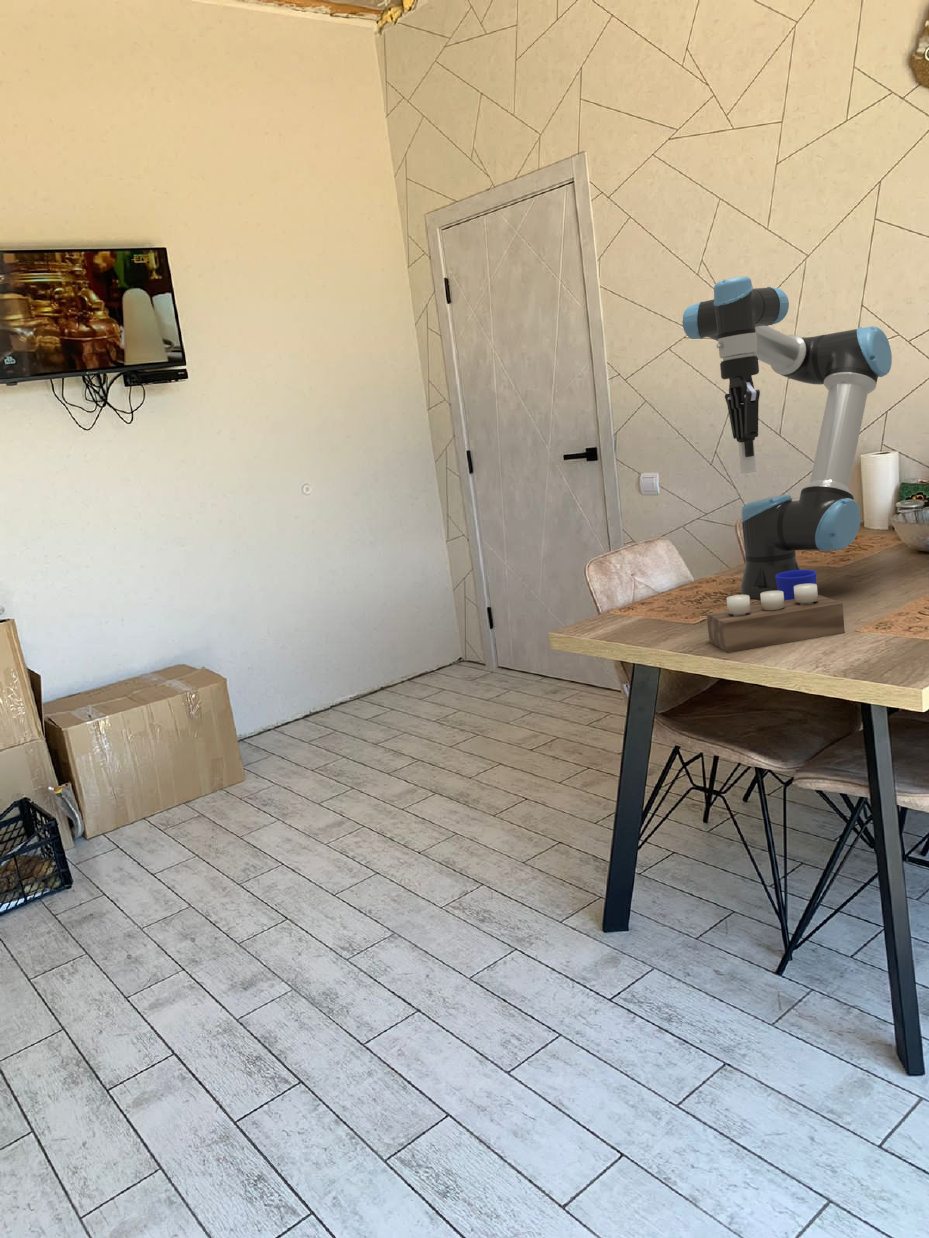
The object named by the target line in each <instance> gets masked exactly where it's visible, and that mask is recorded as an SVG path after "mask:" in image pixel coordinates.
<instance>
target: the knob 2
mask: <svg viewBox="0 0 929 1238" xmlns="http://www.w3.org/2000/svg"><path fill="white" fill-rule="evenodd" d="M760 596H761V599H760V605H761V607H762V609H763V610H767V611H774V610H780V609H782V608H784V607H785V605H784V593H783V591H766V592H762V593H761V594H760Z"/></svg>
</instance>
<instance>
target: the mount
mask: <svg viewBox="0 0 929 1238" xmlns="http://www.w3.org/2000/svg"><path fill="white" fill-rule="evenodd" d="M843 604H844V603H843V602H841V601H838V600H836V599H832V598H829V597H826V596H824V595H820V594H818V600H817V601H815V602H813V604H809V605H803V606H802V605H800V603H797V602H795V599H791V600H785V601H784V605H785V607H784V608H782V609H780V610H774V611H767V610H763V609H762V607H761V604H757V605H750V608H751V611H750V612H749V613H746V615H744V616H739V617H733V614H729V613H728V609H727V610H722V611H721V610H720V611H715V612H710V613H706V620H707V622H706V624H707V629H708V630H707V631H708V641H709V643H710V644H712V645H713V646H716V647H717V648H719V649H720V650H721V651H724V652H725V653H735V652H738V651H739V652H740V651H745V650H746V651H747V650H750V649H756V648H758V649H759V648H761V647H762V648H763V647H768V646H774V645H780V644H781V645H782V644H786V643H791V642H792V643H793V642H798V641H803V640H804V641H805V640H808V639H814V638H815V639H816V638H821V637H826V636H834V635H838V634H844V633H845V619H844V616H845V615H844V605H843Z"/></svg>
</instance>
